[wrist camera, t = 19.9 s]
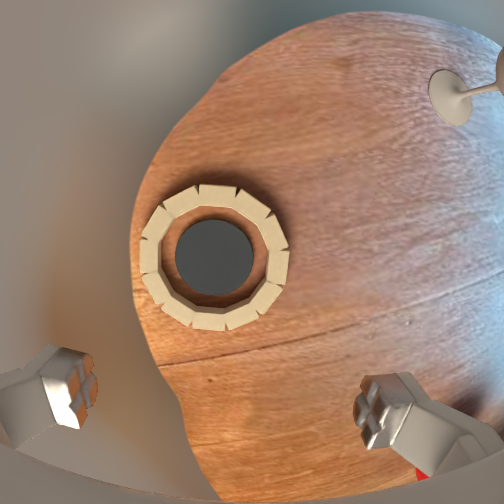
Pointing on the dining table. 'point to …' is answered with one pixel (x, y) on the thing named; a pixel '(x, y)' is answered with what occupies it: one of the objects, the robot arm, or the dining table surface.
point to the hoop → (183, 307)
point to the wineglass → (459, 94)
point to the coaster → (214, 257)
